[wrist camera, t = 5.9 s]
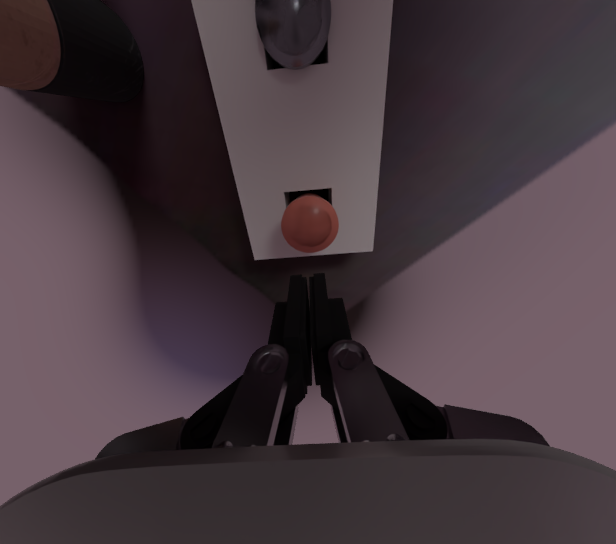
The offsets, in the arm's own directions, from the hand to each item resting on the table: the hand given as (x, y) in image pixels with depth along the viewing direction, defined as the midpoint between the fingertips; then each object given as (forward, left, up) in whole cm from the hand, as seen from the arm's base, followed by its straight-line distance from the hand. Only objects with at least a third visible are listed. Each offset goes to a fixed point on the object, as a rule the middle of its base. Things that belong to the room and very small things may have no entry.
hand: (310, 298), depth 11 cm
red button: (0, 0, -15) cm, 15 cm away
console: (-7, 0, -19) cm, 20 cm away
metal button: (-14, 0, -18) cm, 23 cm away
